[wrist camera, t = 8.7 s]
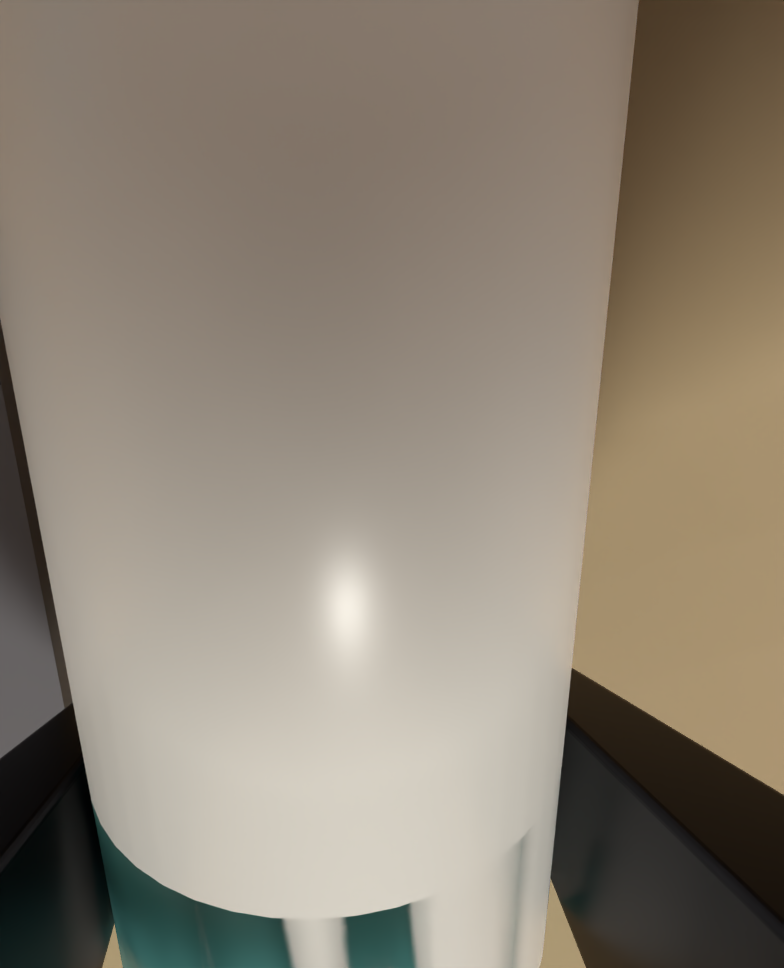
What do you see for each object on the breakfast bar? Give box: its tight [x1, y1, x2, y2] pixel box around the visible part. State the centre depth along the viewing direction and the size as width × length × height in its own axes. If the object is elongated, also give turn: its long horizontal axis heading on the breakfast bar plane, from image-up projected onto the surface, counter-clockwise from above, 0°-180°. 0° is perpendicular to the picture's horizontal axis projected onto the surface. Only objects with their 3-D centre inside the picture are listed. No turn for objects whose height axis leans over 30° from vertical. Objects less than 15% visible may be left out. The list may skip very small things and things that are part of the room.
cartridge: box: [0, 0, 639, 968], centre depth 5 cm, size 4×11×4 cm, turn 0°
